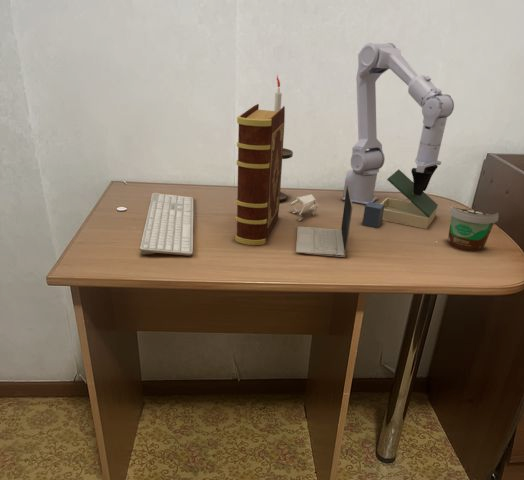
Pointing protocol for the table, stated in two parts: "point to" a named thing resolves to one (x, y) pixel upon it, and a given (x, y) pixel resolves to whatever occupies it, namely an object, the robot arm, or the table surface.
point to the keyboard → (169, 225)
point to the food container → (470, 228)
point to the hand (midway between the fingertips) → (419, 192)
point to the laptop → (326, 236)
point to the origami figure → (305, 203)
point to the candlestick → (286, 152)
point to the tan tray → (405, 213)
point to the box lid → (412, 193)
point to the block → (373, 214)
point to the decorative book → (259, 173)
